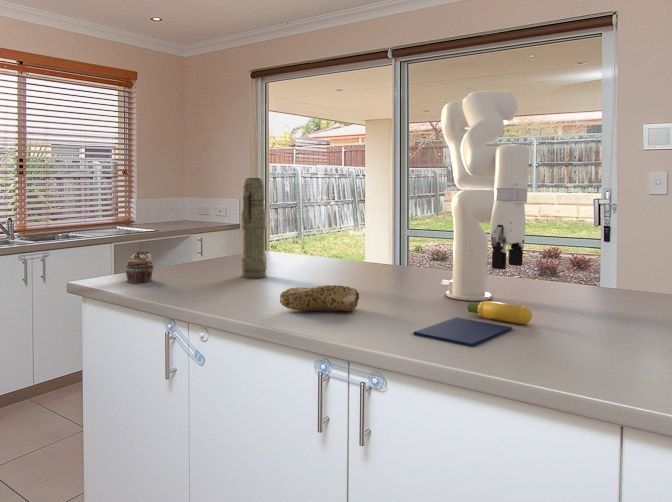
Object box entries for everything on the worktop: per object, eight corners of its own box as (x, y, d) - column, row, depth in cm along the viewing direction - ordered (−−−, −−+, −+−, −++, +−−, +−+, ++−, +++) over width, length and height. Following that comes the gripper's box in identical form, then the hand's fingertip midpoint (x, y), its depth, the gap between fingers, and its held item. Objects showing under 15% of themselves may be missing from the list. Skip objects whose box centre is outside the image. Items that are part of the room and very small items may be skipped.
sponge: (356, 311, 164) (287, 292, 168) (362, 285, 161) (292, 267, 165) (348, 331, 152) (274, 310, 156) (354, 303, 149) (279, 283, 153)
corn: (465, 316, 152) (466, 299, 152) (473, 313, 155) (474, 297, 155) (527, 327, 141) (528, 308, 141) (534, 324, 144) (535, 306, 144)
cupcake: (131, 278, 209) (130, 249, 208) (157, 278, 208) (157, 250, 207) (120, 283, 200) (119, 253, 199) (148, 283, 199) (147, 253, 197)
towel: (413, 334, 135) (413, 331, 135) (456, 319, 149) (456, 317, 149) (472, 346, 125) (472, 343, 125) (511, 329, 139) (511, 327, 139)
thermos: (235, 278, 210) (235, 178, 205) (248, 273, 221) (248, 177, 216) (259, 279, 206) (259, 177, 202) (271, 274, 217) (271, 178, 213)
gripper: (509, 196, 153) (506, 262, 154) (479, 196, 140) (476, 269, 142) (539, 196, 147) (536, 265, 149) (511, 197, 135) (507, 272, 137)
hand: (507, 267), depth 145 cm, fingers open, 9 cm apart
